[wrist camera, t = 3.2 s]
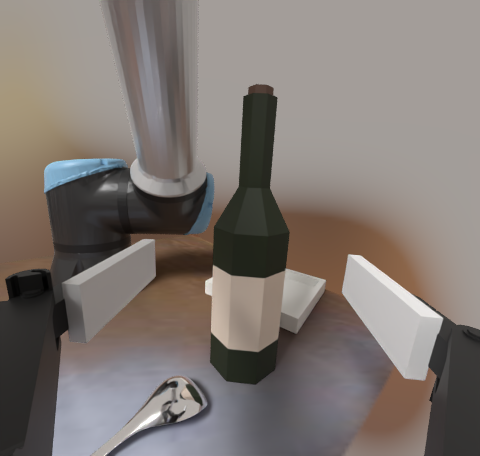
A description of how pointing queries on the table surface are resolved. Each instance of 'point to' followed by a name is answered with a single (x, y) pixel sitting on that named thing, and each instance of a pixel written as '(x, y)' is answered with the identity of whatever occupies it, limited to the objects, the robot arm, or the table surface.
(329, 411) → the table surface
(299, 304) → the serving tray
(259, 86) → the wine bottle
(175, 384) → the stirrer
